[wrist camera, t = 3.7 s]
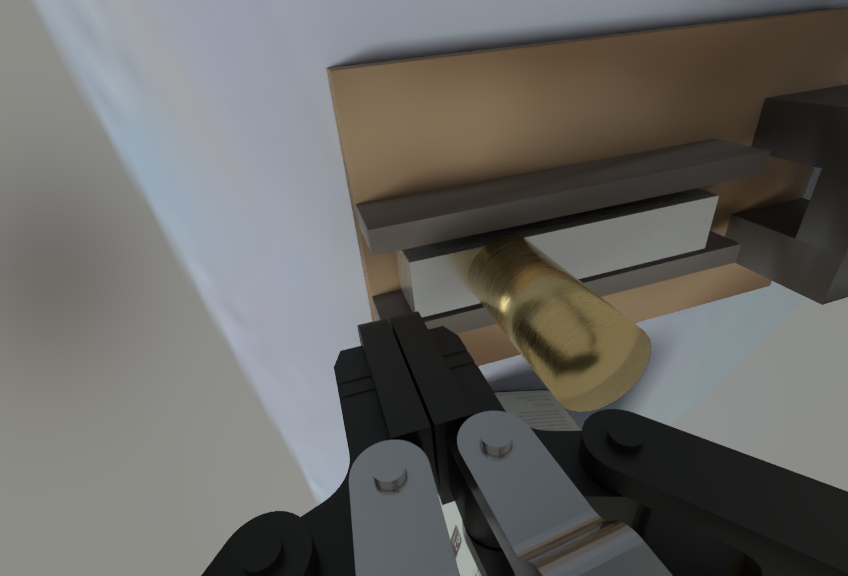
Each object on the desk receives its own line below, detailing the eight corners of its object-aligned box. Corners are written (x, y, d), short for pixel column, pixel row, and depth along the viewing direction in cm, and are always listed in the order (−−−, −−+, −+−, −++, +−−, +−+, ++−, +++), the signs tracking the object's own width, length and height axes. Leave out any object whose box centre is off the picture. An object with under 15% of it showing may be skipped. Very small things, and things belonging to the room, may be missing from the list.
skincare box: (448, 391, 21) (519, 532, 15) (551, 387, 23) (650, 509, 17) (423, 477, 24) (475, 627, 18) (518, 466, 26) (593, 597, 20)
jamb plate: (326, 68, 13) (357, 83, 8) (831, 8, 17) (1058, -6, 12) (381, 368, 19) (418, 481, 14) (743, 272, 23) (871, 335, 18)
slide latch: (393, 231, 14) (475, 363, 8) (675, 174, 16) (896, 248, 11) (401, 293, 15) (477, 446, 10) (663, 233, 18) (854, 327, 12)
